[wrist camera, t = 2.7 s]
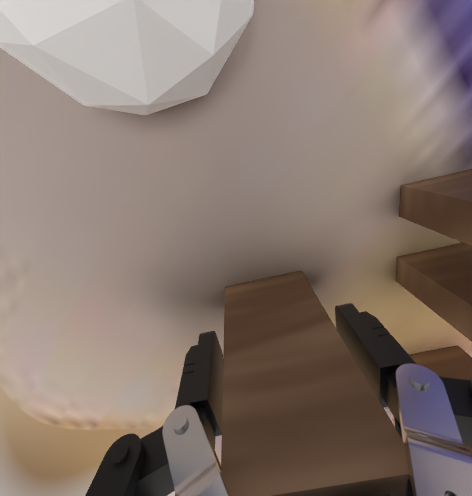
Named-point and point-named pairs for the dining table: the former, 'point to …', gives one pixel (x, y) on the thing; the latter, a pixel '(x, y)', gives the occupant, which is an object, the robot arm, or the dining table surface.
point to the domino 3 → (441, 282)
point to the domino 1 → (299, 401)
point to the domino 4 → (447, 364)
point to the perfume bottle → (125, 47)
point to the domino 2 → (441, 204)
